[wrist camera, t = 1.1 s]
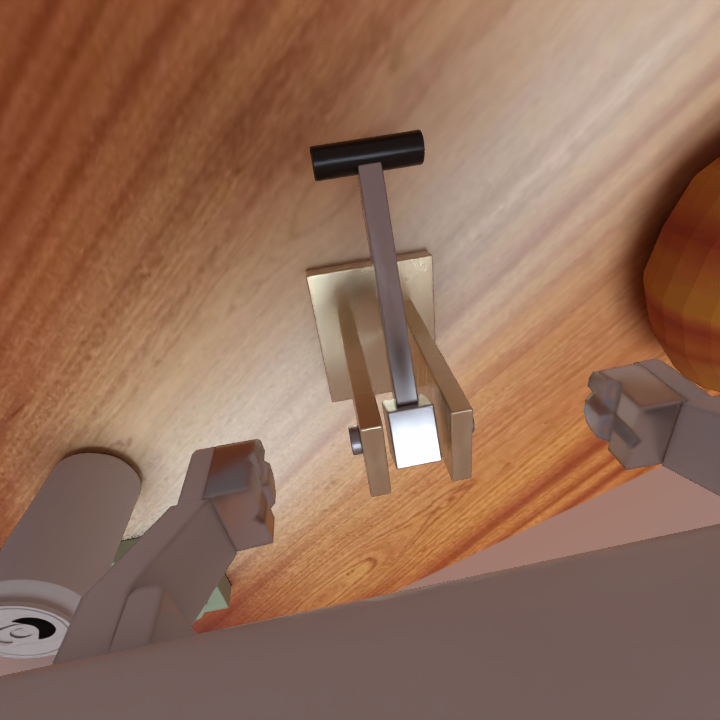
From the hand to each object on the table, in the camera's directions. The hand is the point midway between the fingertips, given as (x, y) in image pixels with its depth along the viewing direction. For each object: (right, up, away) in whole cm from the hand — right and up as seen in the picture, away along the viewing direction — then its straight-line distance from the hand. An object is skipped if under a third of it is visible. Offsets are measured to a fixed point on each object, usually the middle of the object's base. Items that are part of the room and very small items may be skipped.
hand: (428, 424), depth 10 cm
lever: (0, +4, +11) cm, 12 cm away
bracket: (-1, +4, +20) cm, 20 cm away
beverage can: (-22, -8, +24) cm, 34 cm away
